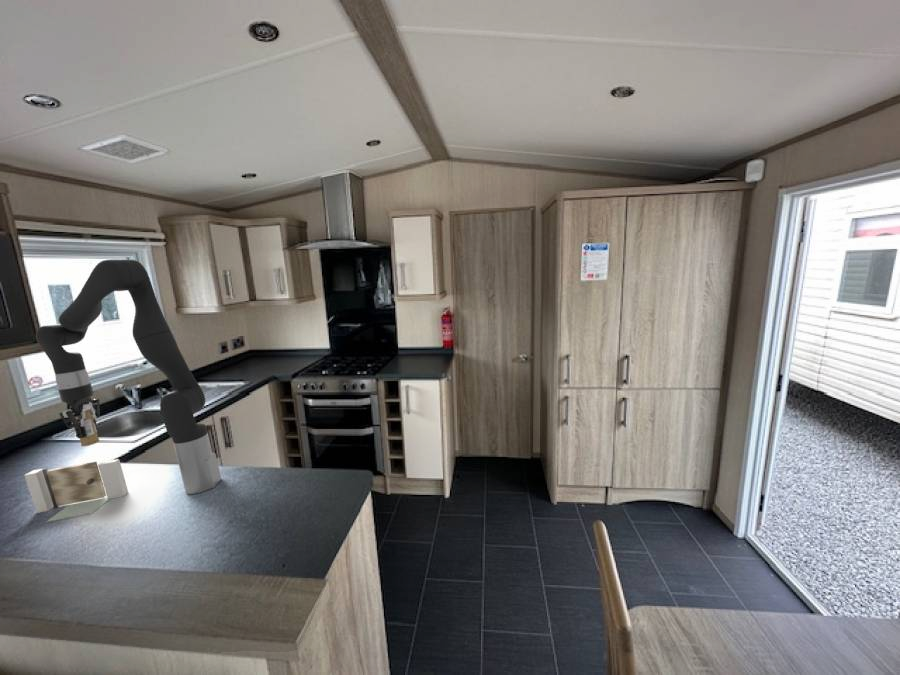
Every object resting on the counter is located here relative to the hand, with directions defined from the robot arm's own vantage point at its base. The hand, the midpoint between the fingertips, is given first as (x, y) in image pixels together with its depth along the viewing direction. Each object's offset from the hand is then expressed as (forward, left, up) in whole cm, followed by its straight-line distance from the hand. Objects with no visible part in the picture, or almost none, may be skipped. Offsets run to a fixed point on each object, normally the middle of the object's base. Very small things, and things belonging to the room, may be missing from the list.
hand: (88, 434), depth 123 cm
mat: (0, +11, -21) cm, 23 cm away
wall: (-8, +6, -21) cm, 23 cm away
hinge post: (+13, +6, -21) cm, 25 cm away
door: (+3, +6, -20) cm, 22 cm away
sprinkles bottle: (0, 0, -3) cm, 3 cm away
